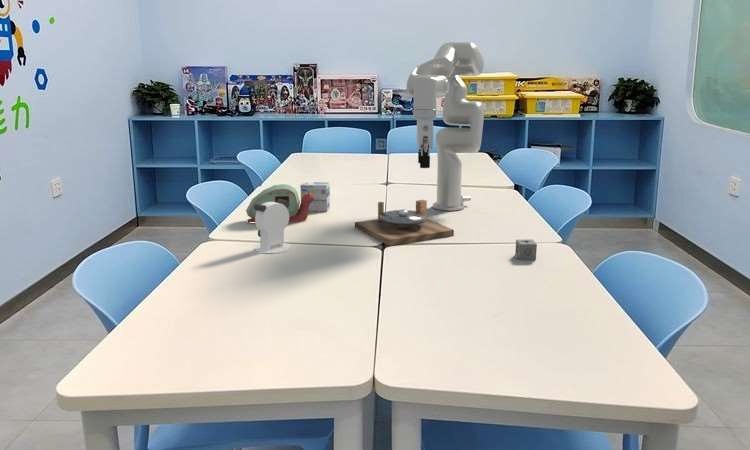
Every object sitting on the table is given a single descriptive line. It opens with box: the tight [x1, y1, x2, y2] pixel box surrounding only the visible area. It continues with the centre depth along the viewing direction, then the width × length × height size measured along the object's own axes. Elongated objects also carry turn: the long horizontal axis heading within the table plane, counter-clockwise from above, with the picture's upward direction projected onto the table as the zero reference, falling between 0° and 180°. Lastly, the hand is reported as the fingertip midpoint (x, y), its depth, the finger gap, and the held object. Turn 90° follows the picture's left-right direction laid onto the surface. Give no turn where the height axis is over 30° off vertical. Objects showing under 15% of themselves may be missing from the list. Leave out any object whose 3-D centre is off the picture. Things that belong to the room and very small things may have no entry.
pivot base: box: [354, 201, 455, 247], centre depth 223 cm, size 25×25×9 cm
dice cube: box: [514, 239, 538, 261], centre depth 196 cm, size 5×5×5 cm
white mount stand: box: [254, 199, 292, 254], centre depth 204 cm, size 12×11×15 cm
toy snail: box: [245, 183, 314, 223], centre depth 237 cm, size 25×8×14 cm, turn 97°
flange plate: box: [380, 199, 428, 225], centre depth 223 cm, size 18×16×5 cm
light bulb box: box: [299, 181, 331, 213], centre depth 254 cm, size 11×7×11 cm, turn 84°
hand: (423, 165), depth 219 cm, fingers open, 9 cm apart
